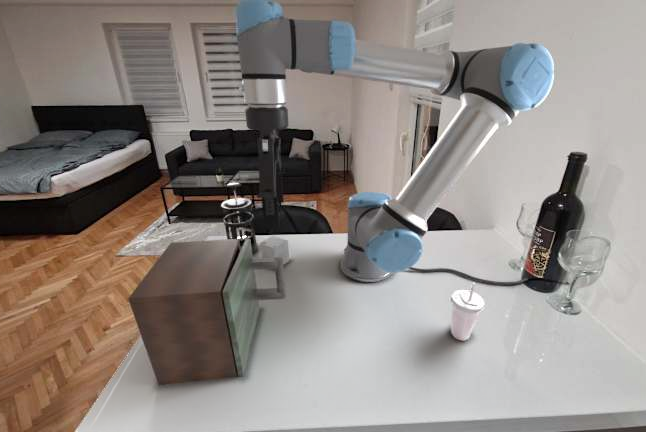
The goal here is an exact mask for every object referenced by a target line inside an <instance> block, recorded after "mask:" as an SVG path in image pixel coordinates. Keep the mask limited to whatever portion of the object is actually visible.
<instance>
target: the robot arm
mask: <svg viewBox="0 0 646 432" xmlns="http://www.w3.org/2000/svg"><path fill="white" fill-rule="evenodd" d="M234 10H235V11H234V12H235V26H236V28H235V29H236V34H235V35H236V41H237V49H238V50H237V51H238V57H239V66H240V67H239V68H240V74H241V79H242V83H241V84H242V85H239V91H240V92H243V99H244V103H245V104H246V105H248V106H247V107H246V108H244V112H245V122H246V127H247V128H248V129H249V130H251V131H258V132H260V135H259V136H260V137H259V138H257V140H256V145H257V153H258V155H257V156H258V178H259V179H258V183H259V184H258V185H259V188H258V189H259V192H257V193H256V198H257V199H261V206H262V215H263V226H264V230H265V231H268V230H269V231H270V230H271V231H272V230H280V229H281V228H280V227H281V226H280V213H279V204H282V203H284V190H283V189H284V188H283V175H282V174H285V167H283V164H282V159H281V158H282V157H281V143H282V142H281V137H279V131H282V130H286V129H287V128H289V109H288V108H287V107H286V106H285V105H286V104H288V86H287V85H288V84H287V75H286V71H287V70H299V71H301V72H303V73H307V74H313V73H315V74H322V75H328V76H329V75H331V76H337V77H344V78H351V79H357V80H364V81H365V80H366V81H369V82H371V81H372V82H378V83H384V84H392V85H399V86H404V87H410V88H411V87H412V88H418V89H424V90H430V92H431V93H432V94H433V95H435V96H442V97H447V98H449V99H454V100H457V101H460V108H459V110H458V111H457V113H456V114H455V115H454V117H453V118H452V119H451V121H450V122H449V123H448V125H447V126H446V128H445V129H444V131H443V132H442V133H441V134H440V136H439V137H438V139H437V140H436V141H435V143H434V144H433V146H432V147H431V149H430V150H429V151H428V152H427V154H426V156H425V157H424V158H423V160H422V161H421V163H420V164H419V165H418V166H417V168H416V169H415V171H414V172H413V174H412V175H411V176H410V178H409V179H408V181H407V182H406V183H405V184H404V185H403V187H402V189H401V190H400V191H399V193H398V194H397V196H396V197H395V198H392V197H391V196H390V195H389V194H387V193H383V192H379V191H377V192H375V191H368V192H367V191H365V192H358V193H354V194H352V195H351V196H349V198H348V201H347V202H348V203H347V244H346V246H345V248H344V249H343V252H342V253H343V255H342V257H341V262H340V269H341V271H342V273H343V274H344V276H346V277H348V278H349V279H351V280H352V281H357V282H360V283H376V282H381V281H384V280H386V279H388V278H389V277H390V276H391V275H392V274H396V273H398V272H404V271H407V270H411V271H417V272H423V273H432V272H451V273H454V274H457V275H461V276H463V277H465V278H468V279H471V280H474V281H477V282H481V283H486V284H492V285H503V286H510V285H512V286H513V285H520V284H522V283H525V282H527V281H529V280H528V279H527V278H528V277H525V278H523V279H520V280H516V281H495V280H489V279H482V278H478V277H475V276H473V275H470V274H468V273H465V272H462V271H460V270H456V269H452V268H443V267H441V268H440V267H439V268H428V269H427V268H426V269H425V268H417V267H413V266H414V265H416V264H417V263H418V261H419V260H420V258H421V256H422V255H423V242H422V239H423V237H424V236H425V235H426V234H427V232H428V223H427V222H428V219H429V218H430V217H431V215H432V214H433V213H434V212H435V210H436V209H437V208H438V206H439V205H440V203H442V201H443V199H444V198H445V197H446V196H447V195H448V193H449V192H450V191H451V189H452V188H453V186H454V185H455V184H456V183H457V181H459V179H460V178H461V176H462V175H463V173H464V172H465V171H466V170H467V168H468V167H469V166H470V164H471V163H472V162H473V160H475V157H476V156H477V155H478V154H479V152H481V150H482V148H484V146H485V145H486V143H487V142H488V140H489V139H490V138H491V137H492V136H493V134H494V133H495V131H496V130H497V129H500V128H504V127H508V126H510V124H511V123H512V122H513V120H514V119H515V118H516V117H517V115H518V114H519V113H520V112H524V111H525V112H526V111H530V110H531V109H534V108H537V107H538V106H539V105H541V103H543V102H544V101H545V99H546V98H547V96H548V95H549V93H550V92H551V89H552V87H553V83H554V79H555V73H554V71H555V63H554V59H553V57H552V55H551V53H550V52H549V50H548V49H547V48H546V47H545V46H543V45H541V44H539V43H534V42H533V43H530V42H529V43H525V42H518V43H514V44H513V45H507V46H506V45H505V46H499V47H490V48H482V49H476V50H468V51H455V50H454V51H453V50H447V49H446V50H443V51H441V52H440V53H434V52H430V51H423V50H417V49H414V48H413V49H412V48H406V47H401V46H395V45H390V44H383V43H379V42H373V41H367V40H362V39H357V38H356V33H355V28H354V27H353V25H352V24H351V23H350V22H347V21H339V20H335V19H332V20H325V19H324V20H320V19H293V18H289V17H285V15H284V13H283V7H282V6H281V4H280V3H278V2H276V1H274V0H241V1H239V2H238V3H237V5H236V6H235V9H234Z"/></svg>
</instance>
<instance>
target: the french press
mask: <svg viewBox="0 0 646 432" xmlns="http://www.w3.org/2000/svg"><path fill="white" fill-rule="evenodd" d="M241 186H242V183H240V182H231V183H228V184H226V188H229V189H232V191H233V193H234V198H230V199H227V200H224V201H223V202H222V203H221V204H220V207H221V208H222V209H223V213H226V212H227V211H236V212H233V213H230V214H227V215H225V217H223V219H222V220H223V225H224V227H225V234H226V240H228V239H239V241H240V248H241V249H242V246H243V244H244V242H245V240H246V239H250V240H251V248H252V255H253V256H254V255H255V254H256V253H258V251H259V246H258V244H257V238H256V229H255V223H254V221H255V219H254V218H255V217H254V215H253V213H251V212H250V211H251V210H252V209H251V207H252V206H251V205H252V203H253V202H252V200H251V199H249V198H246V197H237V193H236V191H237V188H240V187H241ZM236 217H237V221H238V223H237V222H236V223H230V222H228V220H230V219H233V218H236ZM240 217H241V219H242V222H241V221H240Z"/></svg>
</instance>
